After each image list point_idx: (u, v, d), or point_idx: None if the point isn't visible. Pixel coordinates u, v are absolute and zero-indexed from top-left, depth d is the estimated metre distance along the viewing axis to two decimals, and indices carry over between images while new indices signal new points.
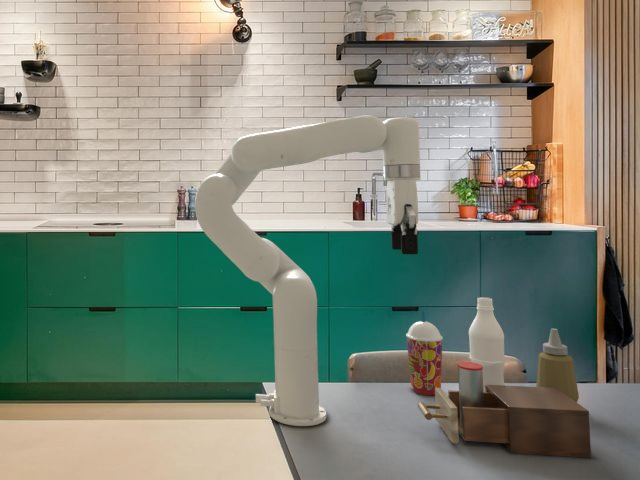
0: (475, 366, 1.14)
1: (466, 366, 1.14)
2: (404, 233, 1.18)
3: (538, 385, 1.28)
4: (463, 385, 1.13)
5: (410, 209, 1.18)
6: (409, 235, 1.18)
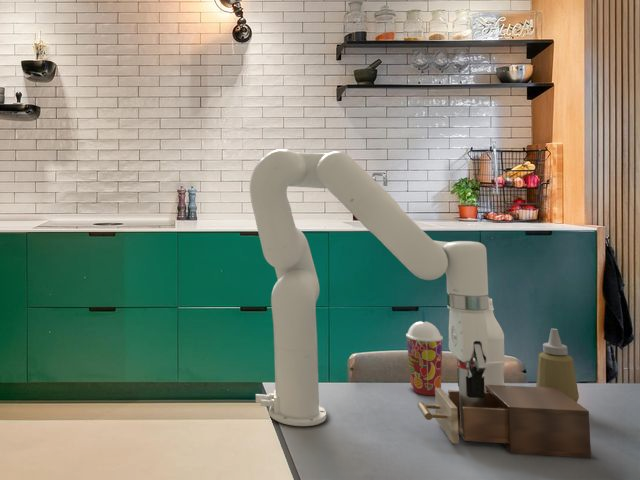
0: None
1: (466, 366, 1.14)
2: (470, 376, 1.11)
3: (538, 385, 1.28)
4: (463, 385, 1.13)
5: (480, 354, 1.09)
6: (475, 378, 1.11)
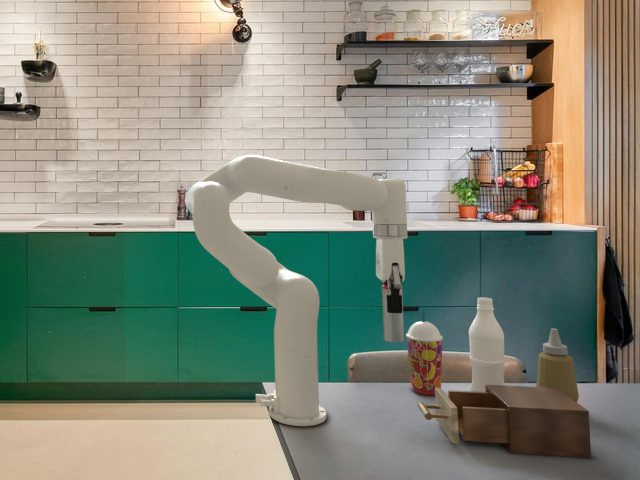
0: None
1: None
2: (389, 294, 1.27)
3: (538, 385, 1.28)
4: (385, 303, 1.30)
5: (396, 273, 1.25)
6: (394, 296, 1.27)
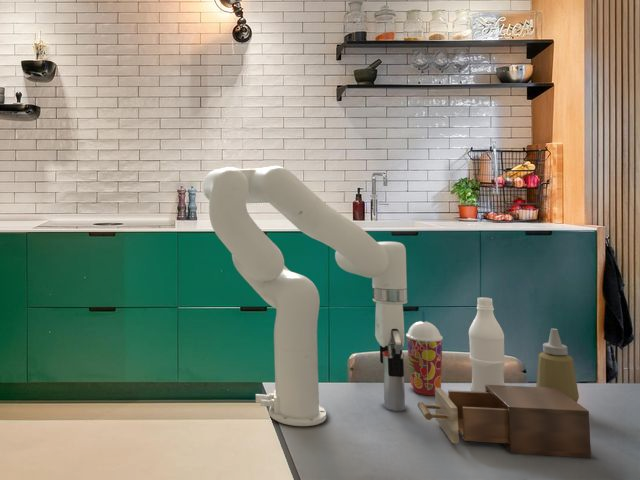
0: None
1: None
2: (391, 357, 1.25)
3: (538, 385, 1.28)
4: (386, 370, 1.29)
5: (396, 335, 1.24)
6: (395, 359, 1.25)
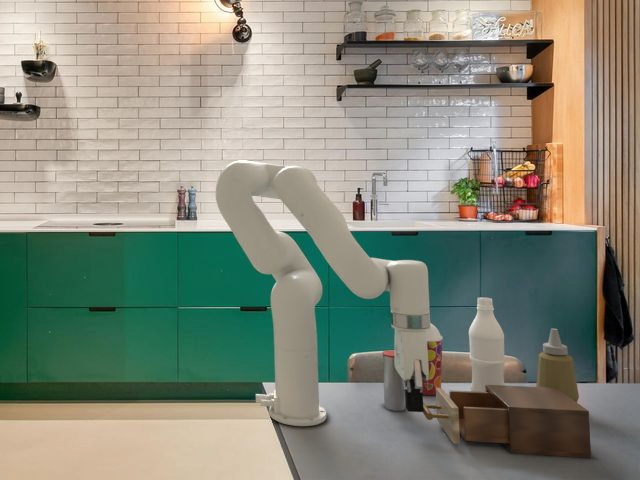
0: None
1: (389, 354, 1.30)
2: (409, 391, 1.15)
3: (538, 385, 1.28)
4: (386, 370, 1.29)
5: (418, 374, 1.12)
6: (414, 393, 1.15)
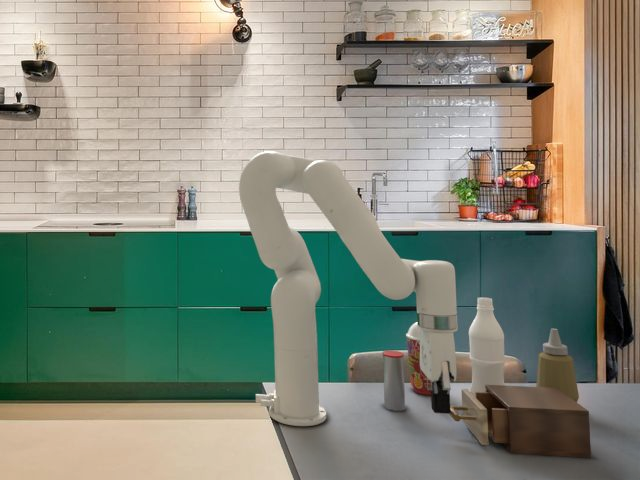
0: (397, 354, 1.30)
1: (389, 354, 1.30)
2: (436, 392, 1.14)
3: (538, 385, 1.28)
4: (386, 370, 1.29)
5: (446, 375, 1.11)
6: (441, 394, 1.14)
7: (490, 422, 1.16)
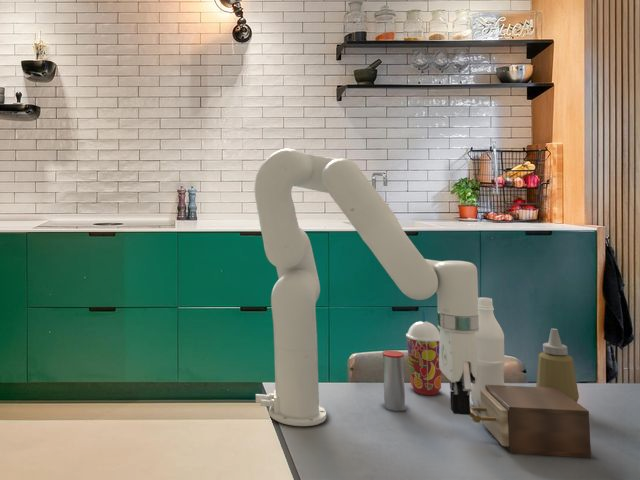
0: (397, 354, 1.30)
1: (389, 354, 1.30)
2: (456, 393, 1.13)
3: (538, 385, 1.28)
4: (386, 370, 1.29)
5: (467, 377, 1.10)
6: (461, 395, 1.13)
7: None
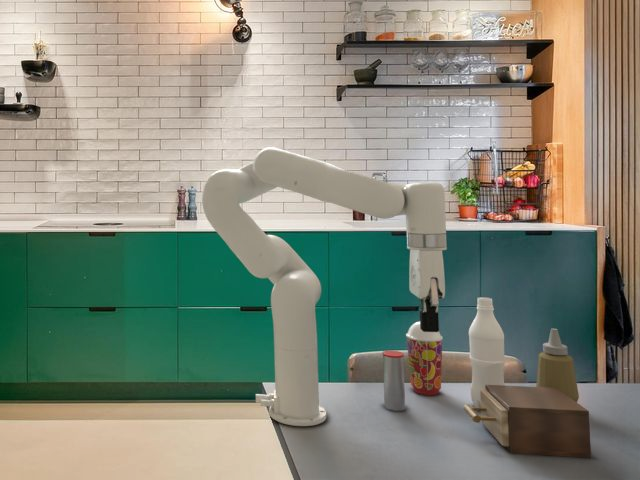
0: (397, 354, 1.30)
1: (389, 354, 1.30)
2: (425, 311, 1.15)
3: (538, 385, 1.28)
4: (386, 370, 1.29)
5: (435, 292, 1.12)
6: (430, 313, 1.15)
7: None
